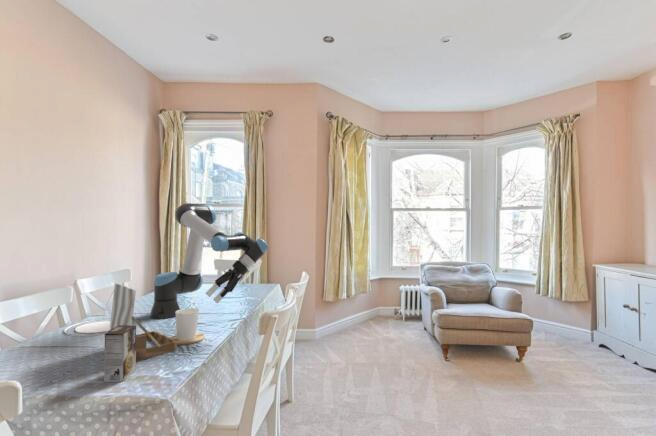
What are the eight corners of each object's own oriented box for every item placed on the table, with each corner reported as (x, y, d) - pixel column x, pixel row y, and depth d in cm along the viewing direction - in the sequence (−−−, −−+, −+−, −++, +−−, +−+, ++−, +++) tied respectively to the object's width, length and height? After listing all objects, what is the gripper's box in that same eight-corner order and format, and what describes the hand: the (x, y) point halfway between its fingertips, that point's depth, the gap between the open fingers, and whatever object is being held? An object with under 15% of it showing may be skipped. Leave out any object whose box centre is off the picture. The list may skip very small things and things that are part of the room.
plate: (87, 340, 154) (87, 338, 154) (51, 331, 165) (51, 329, 165) (144, 324, 179) (144, 322, 179) (109, 317, 191) (109, 315, 191)
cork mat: (162, 339, 155) (162, 338, 155) (194, 331, 166) (194, 330, 166) (178, 347, 145) (178, 346, 145) (210, 339, 157) (210, 337, 157)
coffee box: (117, 370, 123) (118, 325, 123) (136, 370, 123) (137, 324, 124) (102, 382, 114) (103, 333, 114) (123, 382, 114) (124, 332, 114)
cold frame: (109, 349, 143) (110, 283, 143) (155, 338, 157) (156, 278, 157) (129, 363, 129) (130, 291, 129) (177, 350, 142) (178, 284, 143)
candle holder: (202, 335, 160) (203, 309, 160) (188, 342, 150) (188, 314, 150) (185, 333, 163) (185, 307, 163) (169, 339, 153) (170, 312, 153)
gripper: (257, 273, 162) (224, 309, 154) (239, 266, 183) (209, 297, 175) (247, 263, 159) (212, 299, 151) (230, 256, 180) (199, 288, 172)
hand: (211, 298), depth 163 cm, fingers open, 13 cm apart
